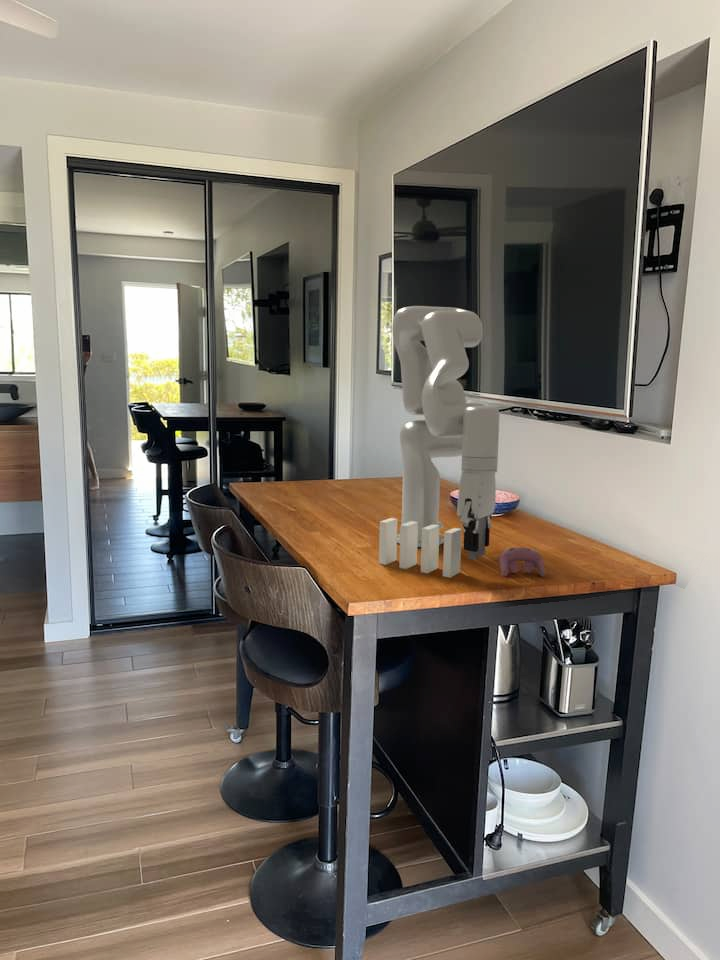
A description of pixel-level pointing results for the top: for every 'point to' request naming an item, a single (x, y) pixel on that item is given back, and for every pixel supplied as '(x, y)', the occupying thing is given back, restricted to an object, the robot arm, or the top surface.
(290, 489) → the top surface
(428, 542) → the domino
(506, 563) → the video game controller
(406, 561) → the domino
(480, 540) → the domino
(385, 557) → the domino
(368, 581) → the top surface
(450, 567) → the domino
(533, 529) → the top surface
